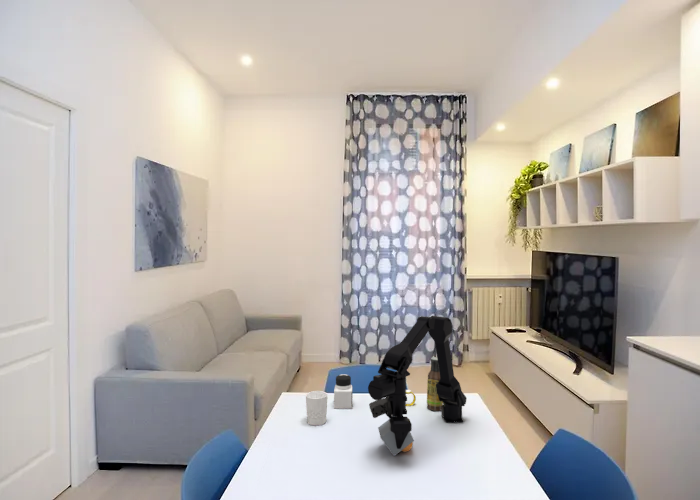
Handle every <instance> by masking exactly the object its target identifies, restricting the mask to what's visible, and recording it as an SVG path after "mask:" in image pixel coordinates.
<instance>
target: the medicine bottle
mask: <svg viewBox="0 0 700 500" xmlns="http://www.w3.org/2000/svg"><path fill="white" fill-rule="evenodd" d="M333 408H334V409H336V410H338V409H339V410H344V409H345V410H350V409H351V410H352V409H353V385H352V376H351V375H349V374H338V375H337V376H336V377H335V385H334V390H333Z"/></svg>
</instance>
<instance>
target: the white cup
mask: <svg viewBox="0 0 700 500" xmlns="http://www.w3.org/2000/svg"><path fill="white" fill-rule="evenodd" d="M305 404H306V405H305V407H306V408H305V409H306V416H307V417H306V419H307V423H308V425H309V426H314V427H316V426H323V425H325V424H326V422H327V413H328V412H327V411H328V393H327V392H325V391H323V390H312V391H310V392H307V393H305Z"/></svg>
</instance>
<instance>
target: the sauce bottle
mask: <svg viewBox="0 0 700 500" xmlns="http://www.w3.org/2000/svg"><path fill="white" fill-rule="evenodd" d="M426 380H427V382H426V384H427V386H426V408H427V409H428V410H430V411H433V412H439V411H442V405H443V402H442V401H439V397H438V394H437V389H436V384H437V383H438V382H439V380H440V372H439V366H438V359H437V356H436V357H435V356H434V357H431V358H430V370H429V372H428V374H427V379H426Z"/></svg>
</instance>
